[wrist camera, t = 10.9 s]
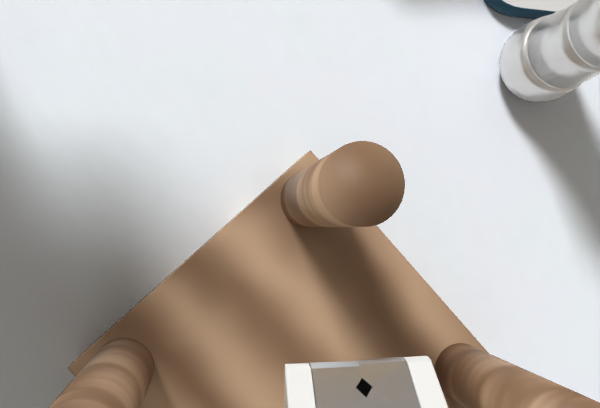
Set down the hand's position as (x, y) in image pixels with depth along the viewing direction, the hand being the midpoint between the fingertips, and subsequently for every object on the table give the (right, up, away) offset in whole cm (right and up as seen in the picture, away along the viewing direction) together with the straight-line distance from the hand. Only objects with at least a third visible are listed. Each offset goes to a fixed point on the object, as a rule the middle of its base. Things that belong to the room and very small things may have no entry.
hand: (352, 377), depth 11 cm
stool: (-2, -8, +30) cm, 31 cm away
